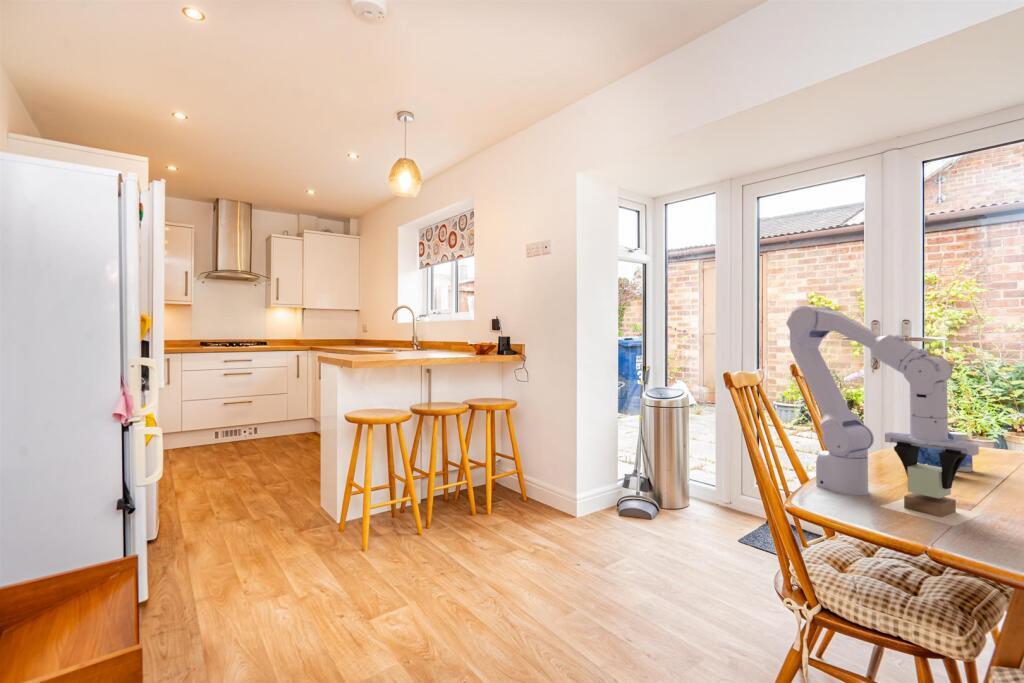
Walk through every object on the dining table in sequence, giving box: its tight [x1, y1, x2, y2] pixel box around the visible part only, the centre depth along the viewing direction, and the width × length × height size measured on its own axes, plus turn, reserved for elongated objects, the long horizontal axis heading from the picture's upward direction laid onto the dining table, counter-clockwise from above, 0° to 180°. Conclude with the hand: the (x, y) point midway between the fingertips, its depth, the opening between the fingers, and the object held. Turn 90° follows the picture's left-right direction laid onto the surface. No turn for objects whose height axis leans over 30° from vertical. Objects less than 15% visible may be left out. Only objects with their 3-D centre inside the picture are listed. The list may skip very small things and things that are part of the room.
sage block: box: [907, 463, 952, 498], centre depth 97 cm, size 5×5×5 cm
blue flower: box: [917, 431, 967, 474], centre depth 125 cm, size 12×7×12 cm, turn 43°
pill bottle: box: [948, 431, 974, 473], centre depth 129 cm, size 5×5×10 cm
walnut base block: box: [903, 492, 957, 518], centre depth 97 cm, size 6×6×2 cm
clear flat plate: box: [879, 498, 983, 527], centre depth 97 cm, size 12×12×1 cm
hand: (929, 484), depth 97 cm, fingers closed on sage block, 5 cm apart
